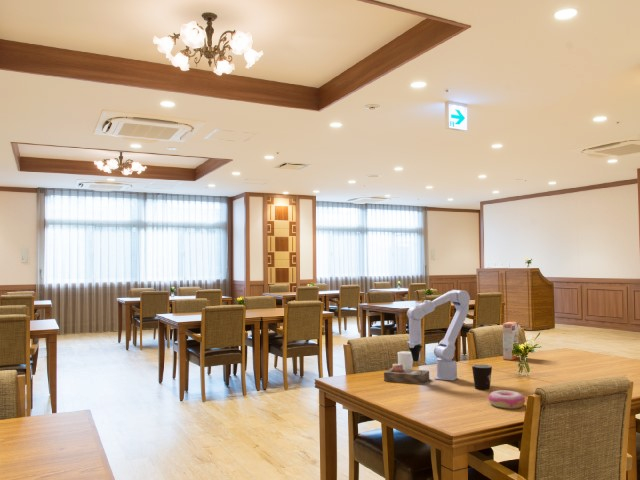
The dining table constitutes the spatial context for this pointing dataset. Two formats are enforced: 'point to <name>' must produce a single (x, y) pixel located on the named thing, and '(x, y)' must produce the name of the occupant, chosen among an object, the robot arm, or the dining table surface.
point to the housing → (407, 376)
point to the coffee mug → (482, 376)
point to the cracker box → (509, 339)
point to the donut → (506, 399)
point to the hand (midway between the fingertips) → (415, 361)
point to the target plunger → (397, 367)
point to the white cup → (405, 359)
